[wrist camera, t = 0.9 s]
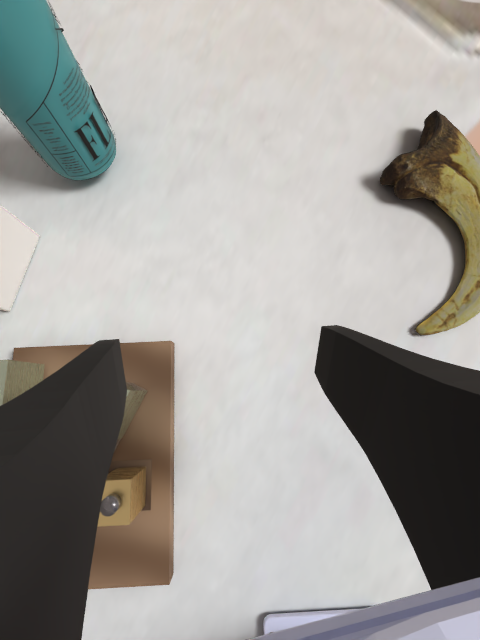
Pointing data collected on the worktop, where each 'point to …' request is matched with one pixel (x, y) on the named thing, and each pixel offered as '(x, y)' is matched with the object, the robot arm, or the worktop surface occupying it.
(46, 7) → the beverage bottle
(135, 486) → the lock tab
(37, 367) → the tongs fixed
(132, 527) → the board
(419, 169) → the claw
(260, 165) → the worktop surface
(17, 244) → the milk carton
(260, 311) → the worktop surface
